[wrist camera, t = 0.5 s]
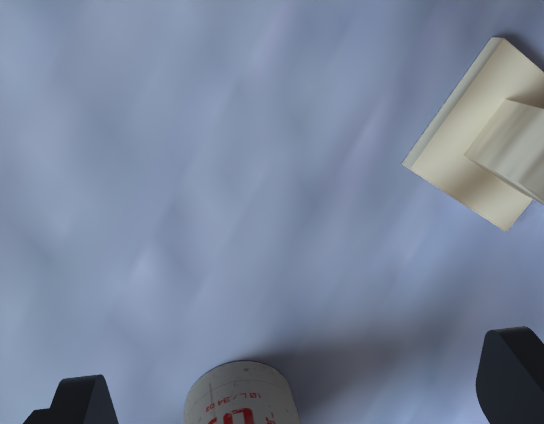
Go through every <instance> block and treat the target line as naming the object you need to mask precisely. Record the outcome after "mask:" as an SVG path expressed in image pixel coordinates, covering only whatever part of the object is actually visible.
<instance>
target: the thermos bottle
mask: <svg viewBox="0 0 544 424" xmlns="http://www.w3.org/2000/svg"><path fill="white" fill-rule="evenodd" d="M184 424H301V423H300V419H299V416H298V412H297V409H296V406H295V403H294V399H293V396H292V393H291V390H290V387H289V384H288V382H287V381H286V379H285V378H284V376H282V375H281V374H280V373H279V372H278V371H277V370H275V369H274V368H272V367H270V366H268V365H265V364H262V363H259V362H252V361H238V362H232V363H227V364H224V365H221V366H218V367H216V368H214V369H213V370H211V371H209V372H207V373H206V374H205V375H203V376H202V377H201V378H200V379H199V380H198V381H197V382H196V383H195V384H194V385H193V387H192V388H191V390H190V392H189V393H188V395H187V398H186V401H185V409H184Z"/></svg>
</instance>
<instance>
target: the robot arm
mask: <svg viewBox="0 0 544 424" xmlns="http://www.w3.org/2000/svg"><path fill="white" fill-rule="evenodd" d="M476 393H477V397H478V401H479V404H480V406H481V409H482V411H483V413H484V414H485V416H486V418H487V419H488V421H489V423H490V424H544V344H543V343H542V341H541V340H540V339H539V338H538V337H537V336H536V334H535V333H534V332H533V331H532V330H531V329H529V328H528V327H525V326H523V327H514V328H506V329H497V330H490V331H488V332H487V333H486V335H485V339H484V344H483V348H482V353H481V358H480V363H479V368H478V373H477V378H476ZM23 424H119V423H118V420H117V417H116V413H115V410H114V407H113V403H112V400H111V397H110V393H109V390H108V387H107V384H106V380H105V378H104V376H103V375H92V376H84V377H75V378H66V379H63V380H61V382H60V383H59V385H58V387H57V390H56V393H55V395H54V398H53V401H52V404H51V406H50V408H49V409H40V410H34V411H33V412H32V413H31V414H30V416H29V417H28V418H27V419H26V420H25V422H24V423H23Z"/></svg>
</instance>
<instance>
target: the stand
mask: <svg viewBox="0 0 544 424" xmlns="http://www.w3.org/2000/svg"><path fill="white" fill-rule="evenodd" d="M402 165H404V166H405V167H407V168H408V169H410V170H411V171H413V172H414V173H416V174H417V175H419V176H420V177H422V178H423V179H425V180H427V181H428V182H430V183H431V184H433V185H434V186H436V187H437V188H439V189H440V190H442V191H443V192H445V193H447V194H448V195H450V196H451V197H453V198H454V199H456V200H457V201H459V202H460V203H462V204H463V205H465V206H467V207H468V208H470V209H471V210H473V211H474V212H476V213H477V214H479V215H480V216H482V217H483V218H485V219H487V220H488V221H490V222H491V223H493V224H494V225H496V226H497V227H499V228H500V229H502V230H503V231H505V232H507V231H508V230H509V229H510V227H511V226H512V225H513V224H514V222H515V221H516V220H517V219H518V217H519V216H520V215H521V214H522V212H523V211H524V210H525V209H526V207H527V206H528V205H529V204H530V202H531V201H532V200H533V199H534V200H536V201H538V202H540V203H542V204H544V72H543V71H542V70H541V69H540V68H538V67H537V66H536V65H535V64H534V63H533V62H531V61H530V60H529V59H528V58H527V57H526V56H524V55H523V54H522V53H521V52H520V51H519V50H517V49H516V48H515V47H514V46H513V45H512V44H510V43H509V42H508V41H507V40H506V39H505V38H496V37H491V39H490V40H489V41H488V43H487V44H486V46H485V47H484V48H483V50H482V51H481V53H480V54H479V56H478V57H477V58H476V60H475V61H474V63H473V64H472V65H471V67H470V68H469V70H468V71H467V72H466V74H465V75H464V77H463V78H462V79H461V81H460V82H459V84H458V85H457V87H456V88H455V89H454V91H453V92H452V94H451V95H450V96H449V98H448V99H447V101H446V102H445V103H444V105H443V106H442V108H441V109H440V110H439V112H438V113H437V115H436V116H435V118H434V119H433V120H432V122H431V123H430V125H429V126H428V127H427V129H426V130H425V132H424V133H423V134H422V136H421V137H420V139H419V140H418V141H417V143H416V144H415V146H414V147H413V148H412V150H411V151H410V153H409V154H408V156H407V157H406V158H405V160H404V161H403V163H402Z"/></svg>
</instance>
